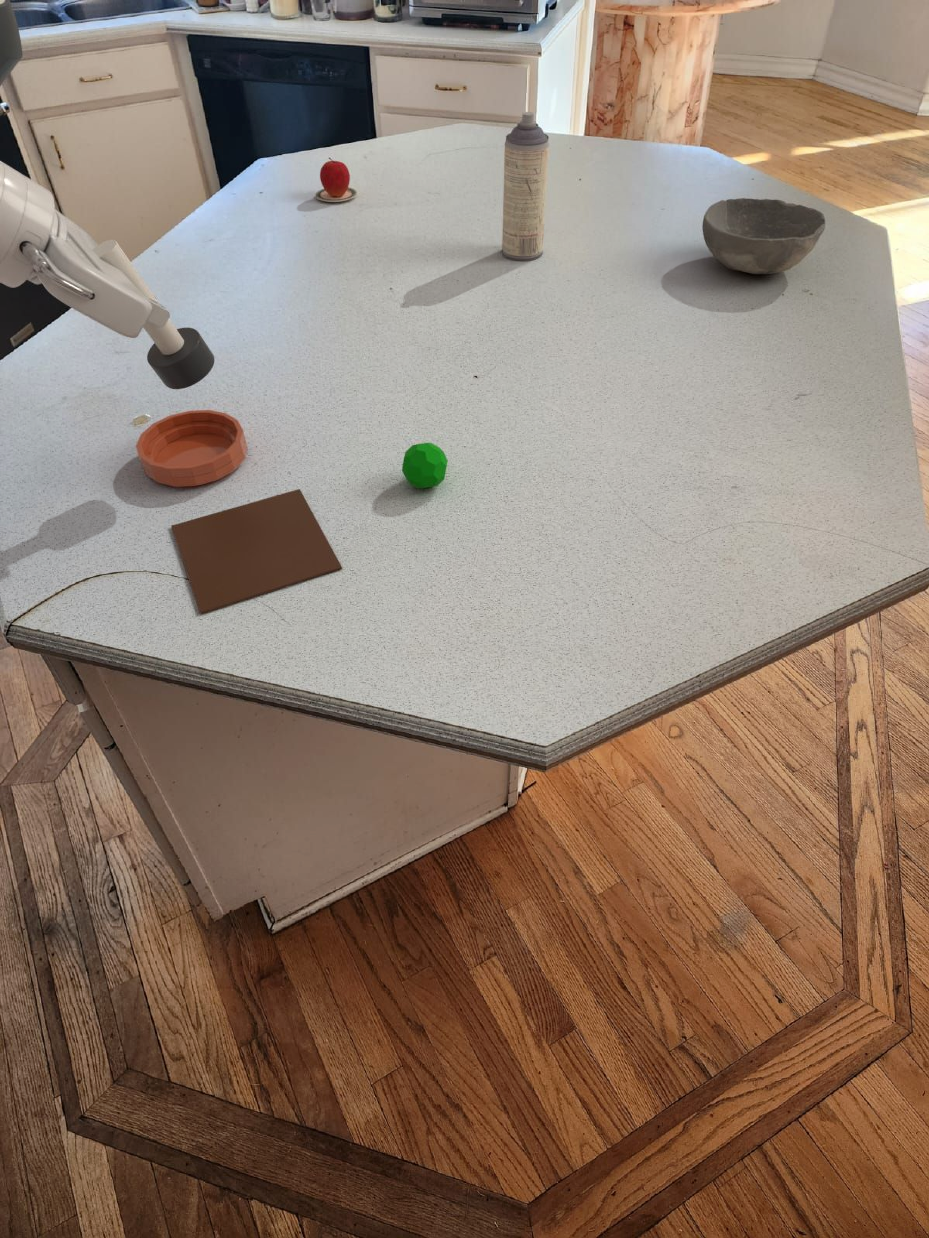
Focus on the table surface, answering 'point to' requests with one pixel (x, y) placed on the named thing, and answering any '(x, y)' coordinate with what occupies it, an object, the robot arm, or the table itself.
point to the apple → (335, 183)
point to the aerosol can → (524, 190)
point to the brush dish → (192, 448)
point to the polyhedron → (424, 465)
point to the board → (253, 550)
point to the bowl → (761, 234)
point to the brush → (165, 333)
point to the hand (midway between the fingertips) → (157, 310)
